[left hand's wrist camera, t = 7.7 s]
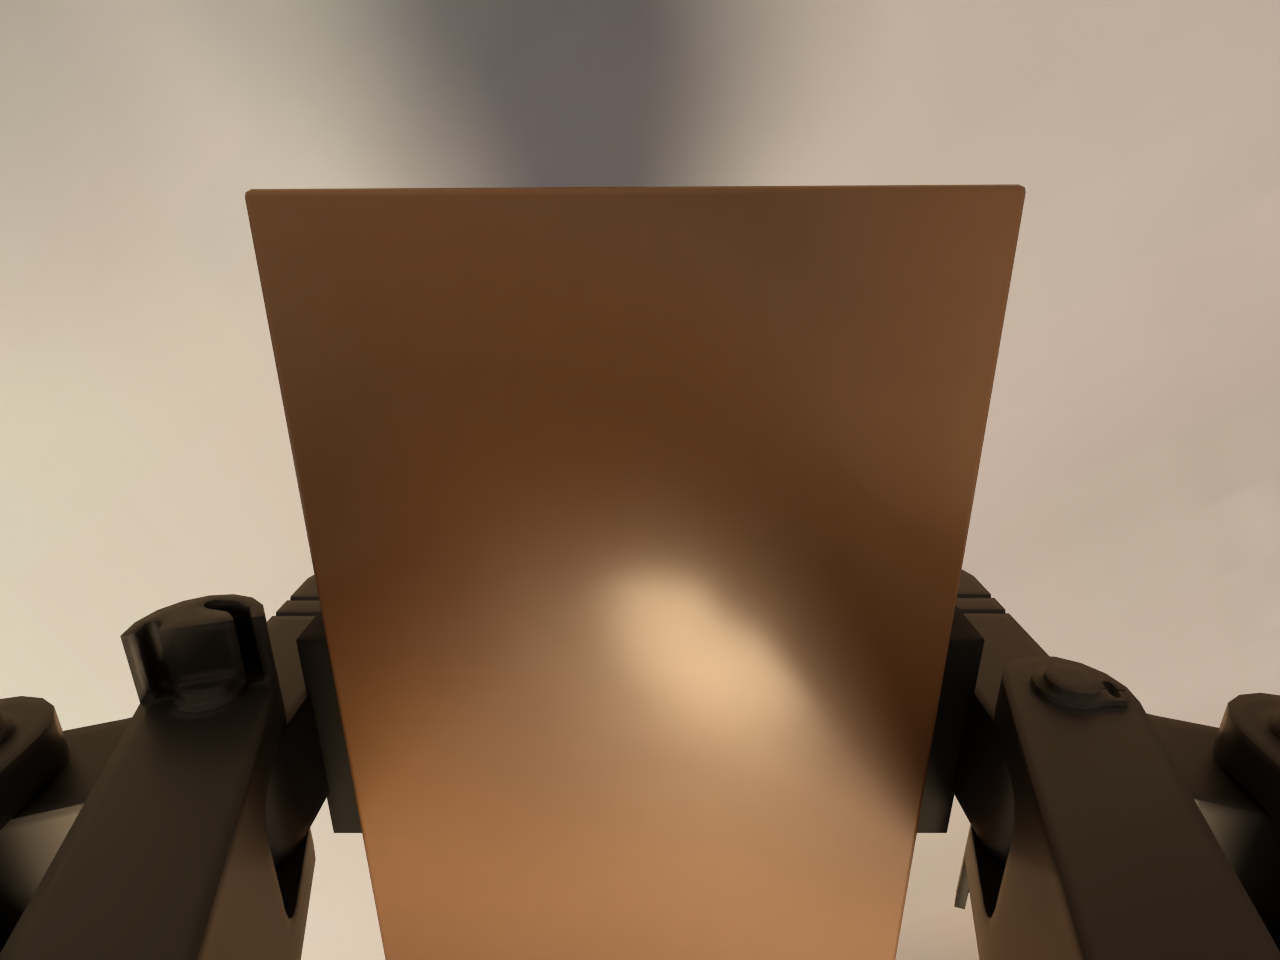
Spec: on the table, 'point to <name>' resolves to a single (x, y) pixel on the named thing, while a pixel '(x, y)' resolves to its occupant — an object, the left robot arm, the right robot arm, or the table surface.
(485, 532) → the beam
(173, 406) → the table surface
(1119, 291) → the table surface
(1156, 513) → the table surface
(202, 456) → the table surface
